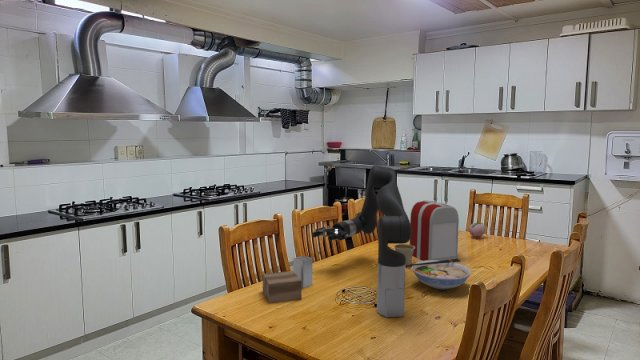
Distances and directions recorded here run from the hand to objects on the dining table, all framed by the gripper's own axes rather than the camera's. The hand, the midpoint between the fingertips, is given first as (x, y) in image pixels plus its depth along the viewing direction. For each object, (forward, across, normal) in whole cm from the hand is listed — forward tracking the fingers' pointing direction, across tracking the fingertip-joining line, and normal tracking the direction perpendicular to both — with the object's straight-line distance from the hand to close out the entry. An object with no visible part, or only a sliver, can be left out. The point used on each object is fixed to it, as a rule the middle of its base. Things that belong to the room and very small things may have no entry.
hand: (320, 236), depth 183 cm
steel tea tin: (+12, 0, +17) cm, 21 cm away
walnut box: (+25, +2, +17) cm, 30 cm away
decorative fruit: (-110, +25, +19) cm, 114 cm away
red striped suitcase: (-58, +23, +18) cm, 65 cm away
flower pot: (-38, +18, +18) cm, 46 cm away
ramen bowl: (-23, +43, +18) cm, 52 cm away
